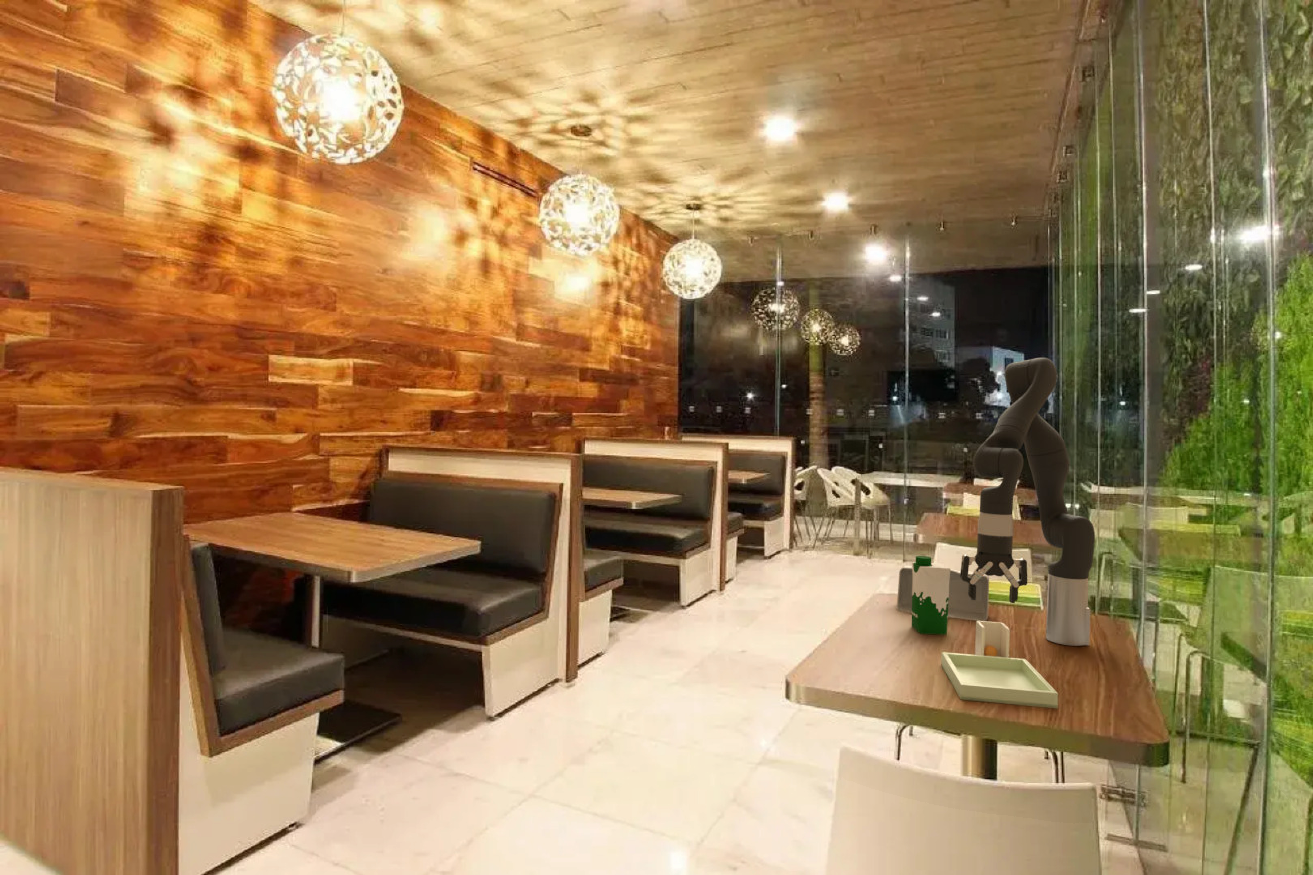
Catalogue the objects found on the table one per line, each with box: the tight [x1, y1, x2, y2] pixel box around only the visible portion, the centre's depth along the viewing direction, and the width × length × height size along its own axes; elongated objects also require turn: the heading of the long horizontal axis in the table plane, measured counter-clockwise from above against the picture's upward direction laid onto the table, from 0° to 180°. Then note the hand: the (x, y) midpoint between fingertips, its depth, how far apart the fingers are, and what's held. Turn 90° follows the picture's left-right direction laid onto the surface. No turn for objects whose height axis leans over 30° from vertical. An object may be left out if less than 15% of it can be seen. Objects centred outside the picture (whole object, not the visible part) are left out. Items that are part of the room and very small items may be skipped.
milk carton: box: [911, 555, 952, 636], centre depth 199 cm, size 9×9×20 cm
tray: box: [940, 651, 1059, 709], centre depth 157 cm, size 18×22×3 cm
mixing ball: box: [984, 646, 998, 657], centre depth 173 cm, size 3×3×3 cm
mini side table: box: [974, 620, 1011, 658], centre depth 172 cm, size 6×6×9 cm
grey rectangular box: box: [896, 564, 990, 622], centre depth 222 cm, size 25×16×12 cm, turn 65°
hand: (992, 601), depth 172 cm, fingers open, 8 cm apart
